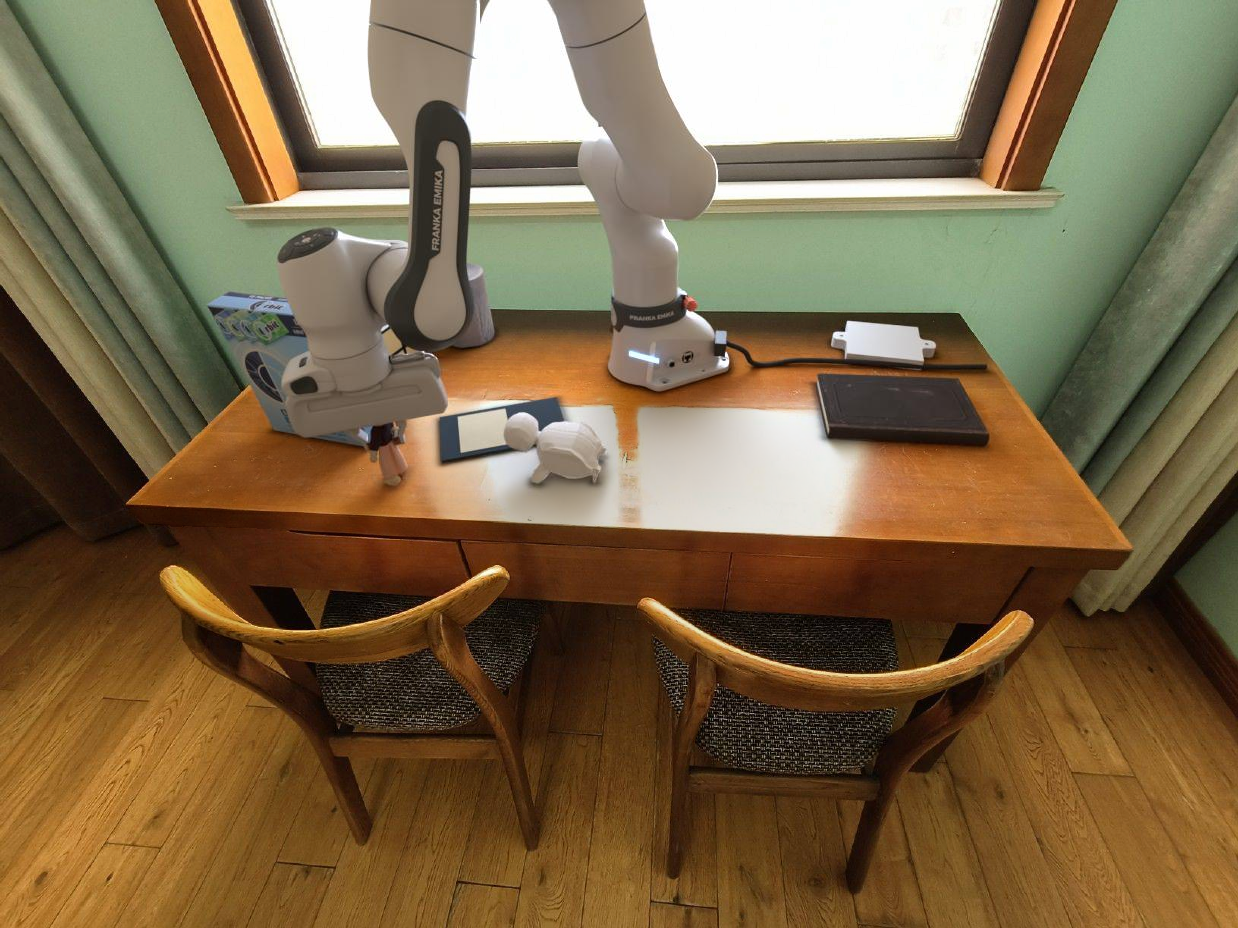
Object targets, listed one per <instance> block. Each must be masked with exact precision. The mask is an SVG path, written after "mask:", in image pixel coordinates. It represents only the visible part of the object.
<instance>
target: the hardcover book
mask: <svg viewBox="0 0 1238 928" xmlns="http://www.w3.org/2000/svg"><path fill="white" fill-rule="evenodd" d="M816 377H817V379H816V381H817V382H814V386H815V390H816V394H817V400H818V404H819V409H820V414H821V418H822V422H823V427H824V432H825V436H826V438H827V439H837V440H857V441H859V440H860V441H877V442H878V441H880V442H897V443H898V442H899V443H916V444H917V443H918V444H919V443H921V444H938V445H939V444H941V445H959V446H979V447H981V446H982V447H985V446H987V445H988V443H989V440H990V432H989V431H988V429H987V427H986V425H985V423H984V421H983V420H982V418H981V416H980V414H979V412H978V410H977V409H976V407H975V405H974V404H973V402H972V400H971V398H970V396H969V395H968V393H967V391H966V390H965V388H964V386H963V384H962V382H961V380H960V379H959V377H938V376H937V377H936V376H935V377H934V376H933V377H931V376H907V375H905V376H904V375H879V374H849V373H823V372H818V373H817V374H816Z"/></svg>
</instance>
